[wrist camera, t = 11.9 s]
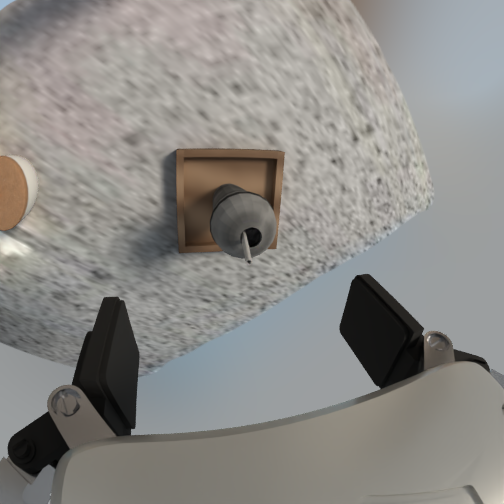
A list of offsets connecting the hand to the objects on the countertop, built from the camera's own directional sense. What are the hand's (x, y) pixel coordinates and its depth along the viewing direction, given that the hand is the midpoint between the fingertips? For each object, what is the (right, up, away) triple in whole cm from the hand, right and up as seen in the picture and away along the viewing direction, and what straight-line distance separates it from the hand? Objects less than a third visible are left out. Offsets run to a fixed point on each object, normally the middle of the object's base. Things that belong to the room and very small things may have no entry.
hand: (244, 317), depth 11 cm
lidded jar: (-36, +14, +21) cm, 44 cm away
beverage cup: (-3, +10, +30) cm, 32 cm away
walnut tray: (-3, +11, +30) cm, 32 cm away
